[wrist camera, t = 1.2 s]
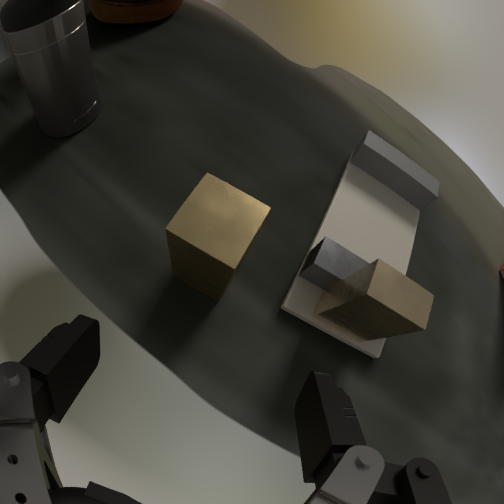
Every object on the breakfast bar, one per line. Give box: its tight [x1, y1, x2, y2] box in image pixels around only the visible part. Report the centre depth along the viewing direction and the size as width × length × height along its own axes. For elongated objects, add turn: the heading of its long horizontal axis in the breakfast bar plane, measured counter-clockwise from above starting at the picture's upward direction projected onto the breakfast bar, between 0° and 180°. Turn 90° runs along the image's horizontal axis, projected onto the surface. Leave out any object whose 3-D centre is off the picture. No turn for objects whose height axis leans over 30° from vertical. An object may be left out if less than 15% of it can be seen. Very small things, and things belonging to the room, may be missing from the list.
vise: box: [280, 130, 439, 358], centre depth 32 cm, size 12×24×5 cm, turn 152°
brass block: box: [165, 173, 271, 302], centre depth 24 cm, size 5×5×11 cm
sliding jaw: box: [299, 236, 434, 342], centre depth 25 cm, size 12×6×10 cm, turn 62°
